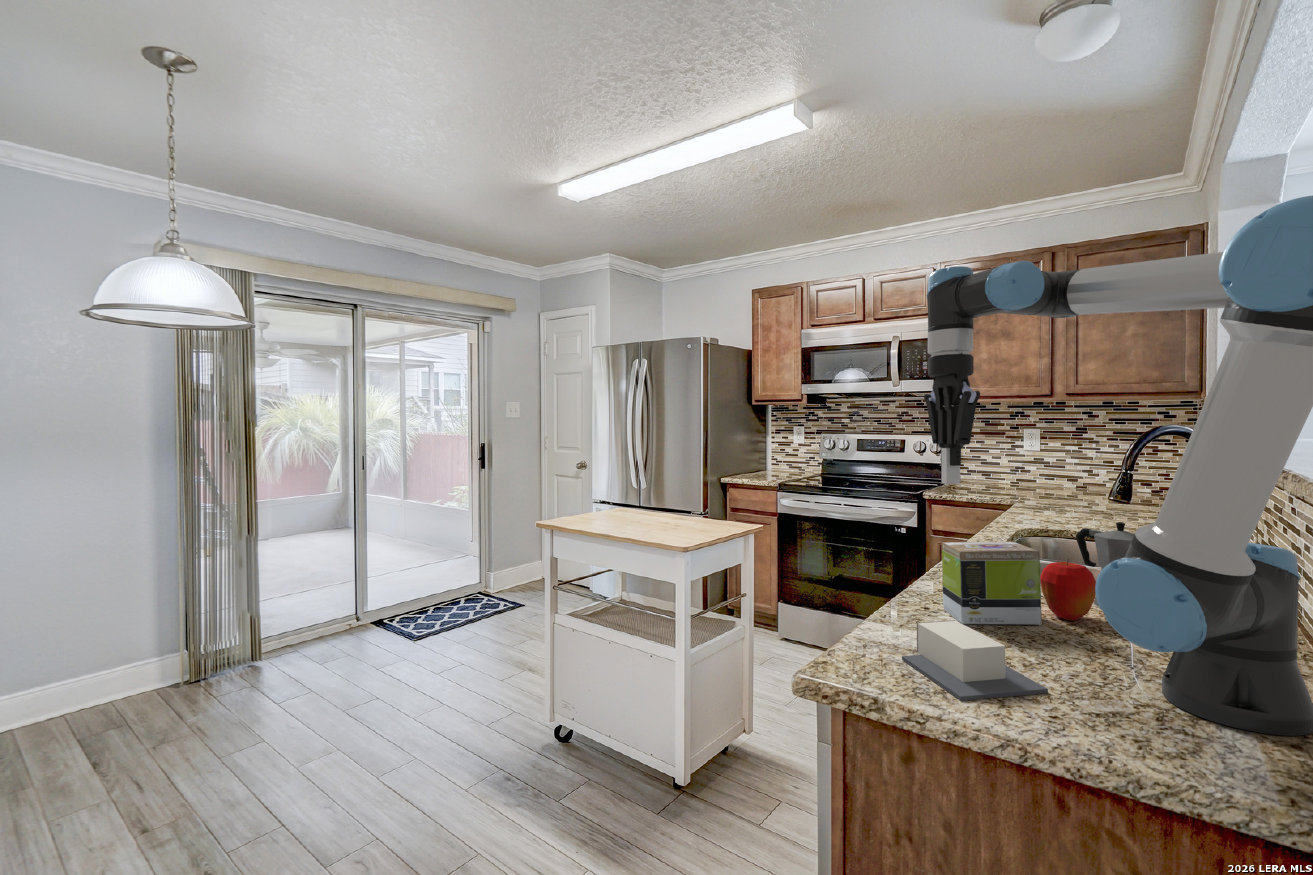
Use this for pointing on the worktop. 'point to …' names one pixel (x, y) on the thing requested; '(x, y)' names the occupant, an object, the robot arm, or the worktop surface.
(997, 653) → the cream block
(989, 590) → the tea box
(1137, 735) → the worktop surface
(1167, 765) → the worktop surface
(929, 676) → the mat
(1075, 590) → the apple
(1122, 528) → the coffeepot
